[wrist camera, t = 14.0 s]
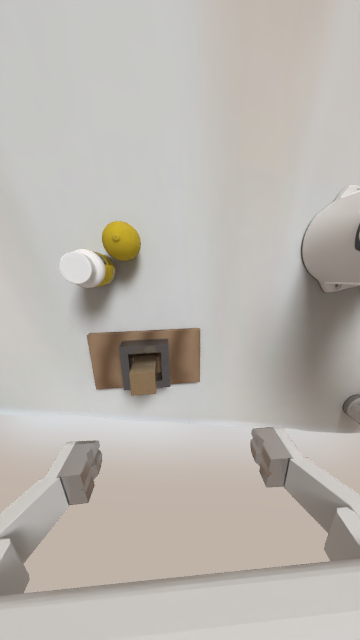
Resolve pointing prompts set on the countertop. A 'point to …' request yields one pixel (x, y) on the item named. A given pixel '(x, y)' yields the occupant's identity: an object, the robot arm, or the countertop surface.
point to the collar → (145, 347)
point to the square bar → (144, 374)
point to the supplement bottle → (87, 268)
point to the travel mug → (353, 407)
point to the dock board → (108, 359)
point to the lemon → (121, 241)
